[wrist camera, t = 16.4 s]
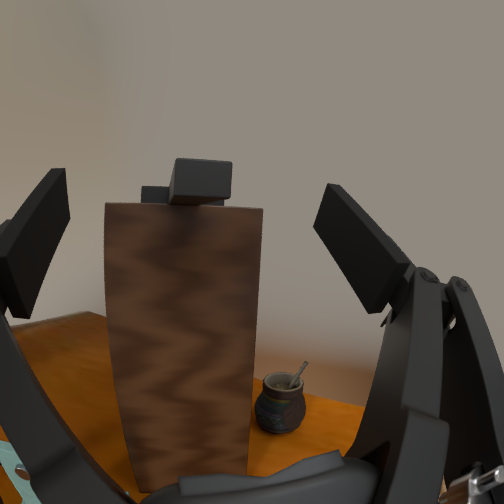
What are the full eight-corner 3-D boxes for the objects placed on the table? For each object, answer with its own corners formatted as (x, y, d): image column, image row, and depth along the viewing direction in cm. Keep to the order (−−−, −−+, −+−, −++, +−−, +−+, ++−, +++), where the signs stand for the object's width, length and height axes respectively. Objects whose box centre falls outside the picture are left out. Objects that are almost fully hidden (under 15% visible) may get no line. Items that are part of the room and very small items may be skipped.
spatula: (117, 195, 11) (120, 155, 11) (146, 206, 33) (147, 192, 33) (282, 202, 13) (284, 166, 13) (207, 208, 35) (207, 194, 35)
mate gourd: (242, 422, 40) (245, 365, 39) (278, 405, 45) (284, 351, 44) (278, 446, 35) (286, 387, 33) (313, 424, 40) (323, 367, 39)
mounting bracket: (18, 548, 9) (-55, 453, 8) (33, 485, 19) (-11, 389, 17) (135, 570, 13) (89, 493, 11) (131, 499, 22) (104, 405, 21)
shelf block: (139, 493, 24) (104, 202, 20) (139, 422, 37) (126, 206, 33) (245, 486, 27) (263, 208, 24) (220, 419, 40) (226, 209, 37)
